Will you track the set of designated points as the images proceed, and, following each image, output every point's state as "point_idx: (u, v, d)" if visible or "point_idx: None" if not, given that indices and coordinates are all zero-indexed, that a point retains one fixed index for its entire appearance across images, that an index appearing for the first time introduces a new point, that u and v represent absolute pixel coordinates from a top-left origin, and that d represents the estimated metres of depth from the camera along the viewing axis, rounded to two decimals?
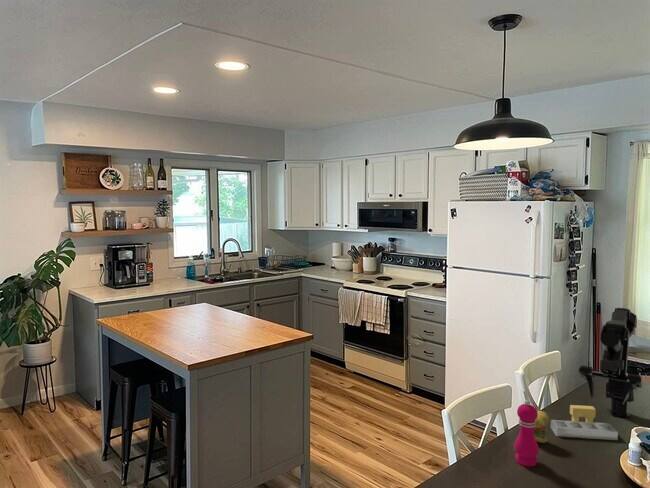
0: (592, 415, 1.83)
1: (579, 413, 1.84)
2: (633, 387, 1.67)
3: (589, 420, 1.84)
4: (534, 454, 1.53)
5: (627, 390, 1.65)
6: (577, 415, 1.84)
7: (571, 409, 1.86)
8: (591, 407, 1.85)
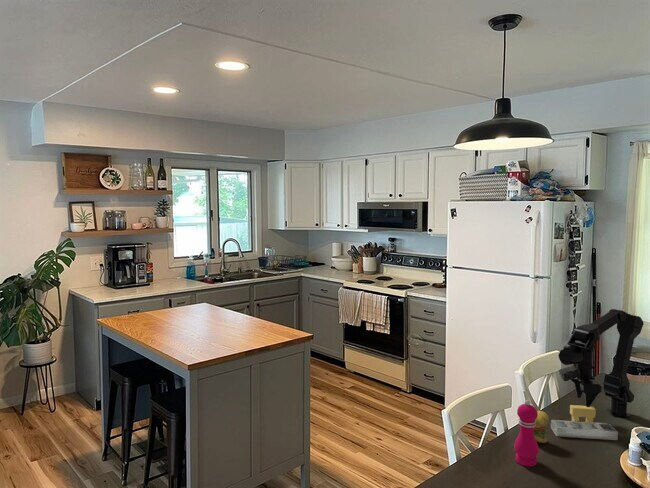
0: (592, 415, 1.83)
1: (579, 413, 1.84)
2: None
3: (589, 420, 1.84)
4: (534, 454, 1.53)
5: (585, 396, 1.80)
6: (577, 415, 1.84)
7: (571, 409, 1.86)
8: (591, 407, 1.85)
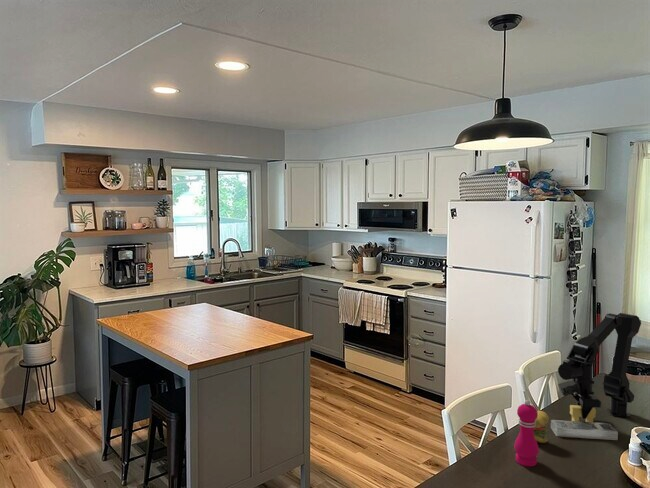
0: (592, 415, 1.83)
1: (579, 413, 1.84)
2: None
3: (589, 420, 1.84)
4: (534, 454, 1.53)
5: (581, 407, 1.83)
6: (577, 415, 1.84)
7: (571, 409, 1.86)
8: None
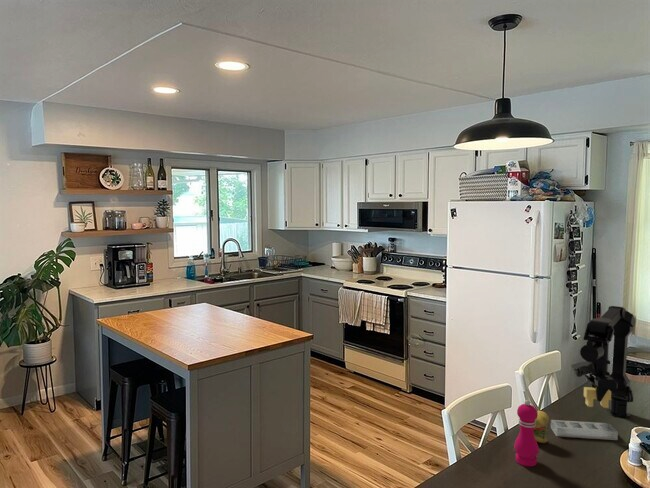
0: (607, 397, 1.74)
1: (594, 395, 1.74)
2: None
3: (604, 403, 1.74)
4: (534, 454, 1.53)
5: (596, 389, 1.73)
6: (591, 397, 1.74)
7: (585, 391, 1.76)
8: None
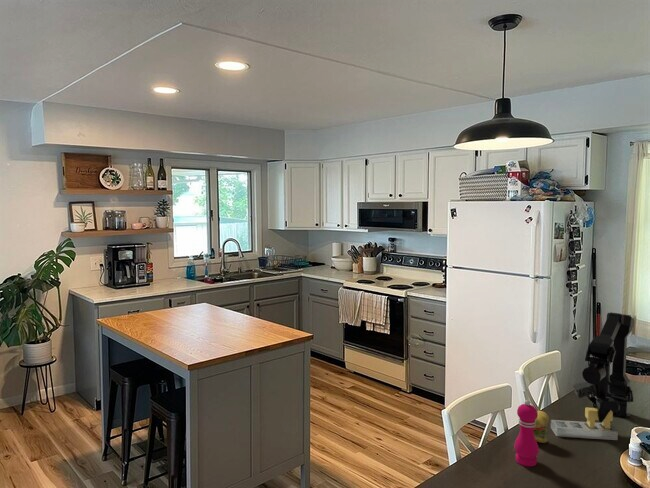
0: (609, 418, 1.73)
1: (595, 416, 1.74)
2: None
3: (606, 423, 1.74)
4: (534, 454, 1.53)
5: (598, 410, 1.72)
6: (593, 418, 1.74)
7: (586, 412, 1.75)
8: None
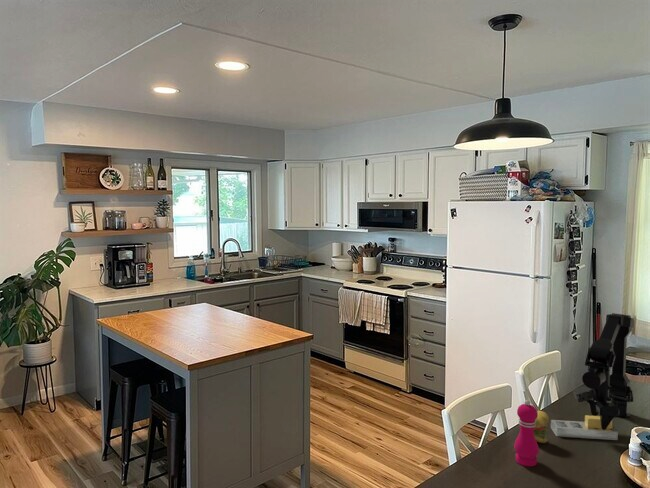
0: (609, 426, 1.73)
1: (595, 424, 1.74)
2: None
3: None
4: (534, 454, 1.53)
5: (601, 418, 1.70)
6: (593, 426, 1.74)
7: (586, 420, 1.76)
8: None
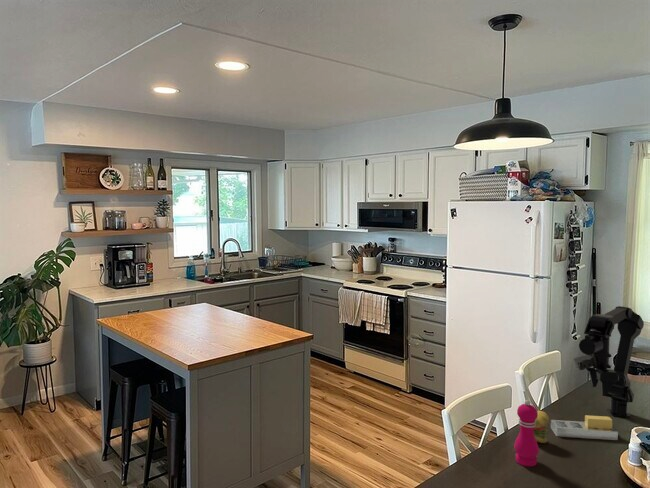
0: (609, 426, 1.73)
1: (595, 424, 1.74)
2: None
3: None
4: (534, 454, 1.53)
5: (601, 384, 1.77)
6: (593, 426, 1.74)
7: (586, 420, 1.76)
8: (607, 418, 1.75)
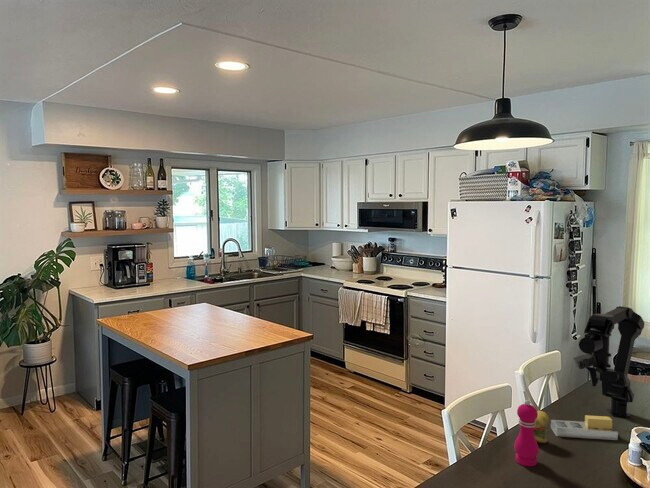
0: (609, 426, 1.73)
1: (595, 424, 1.74)
2: None
3: None
4: (534, 454, 1.53)
5: (601, 383, 1.77)
6: (593, 426, 1.74)
7: (586, 420, 1.76)
8: (607, 418, 1.75)
